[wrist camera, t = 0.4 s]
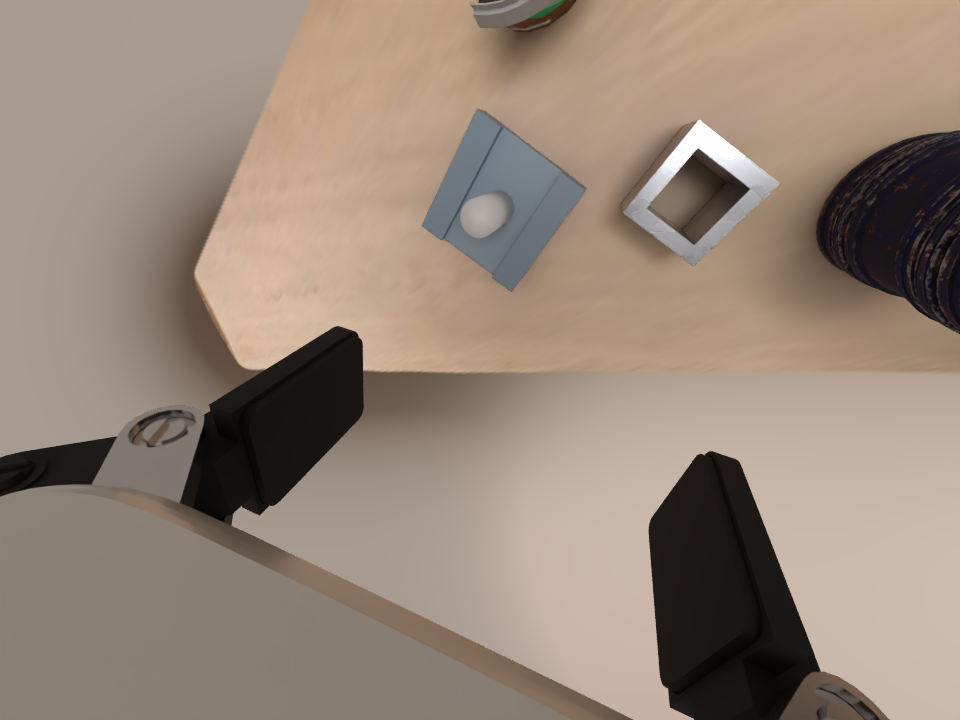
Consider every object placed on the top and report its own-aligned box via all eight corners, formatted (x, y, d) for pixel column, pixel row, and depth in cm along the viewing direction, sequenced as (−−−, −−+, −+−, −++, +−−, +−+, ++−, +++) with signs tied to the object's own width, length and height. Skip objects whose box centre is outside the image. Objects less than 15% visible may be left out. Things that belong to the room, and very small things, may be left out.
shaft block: (586, 188, 32) (580, 197, 25) (516, 284, 38) (497, 310, 32) (485, 111, 31) (453, 101, 25) (431, 221, 37) (395, 235, 31)
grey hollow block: (750, 177, 28) (780, 183, 23) (681, 248, 32) (693, 266, 27) (683, 125, 28) (699, 119, 23) (621, 202, 31) (622, 212, 26)
